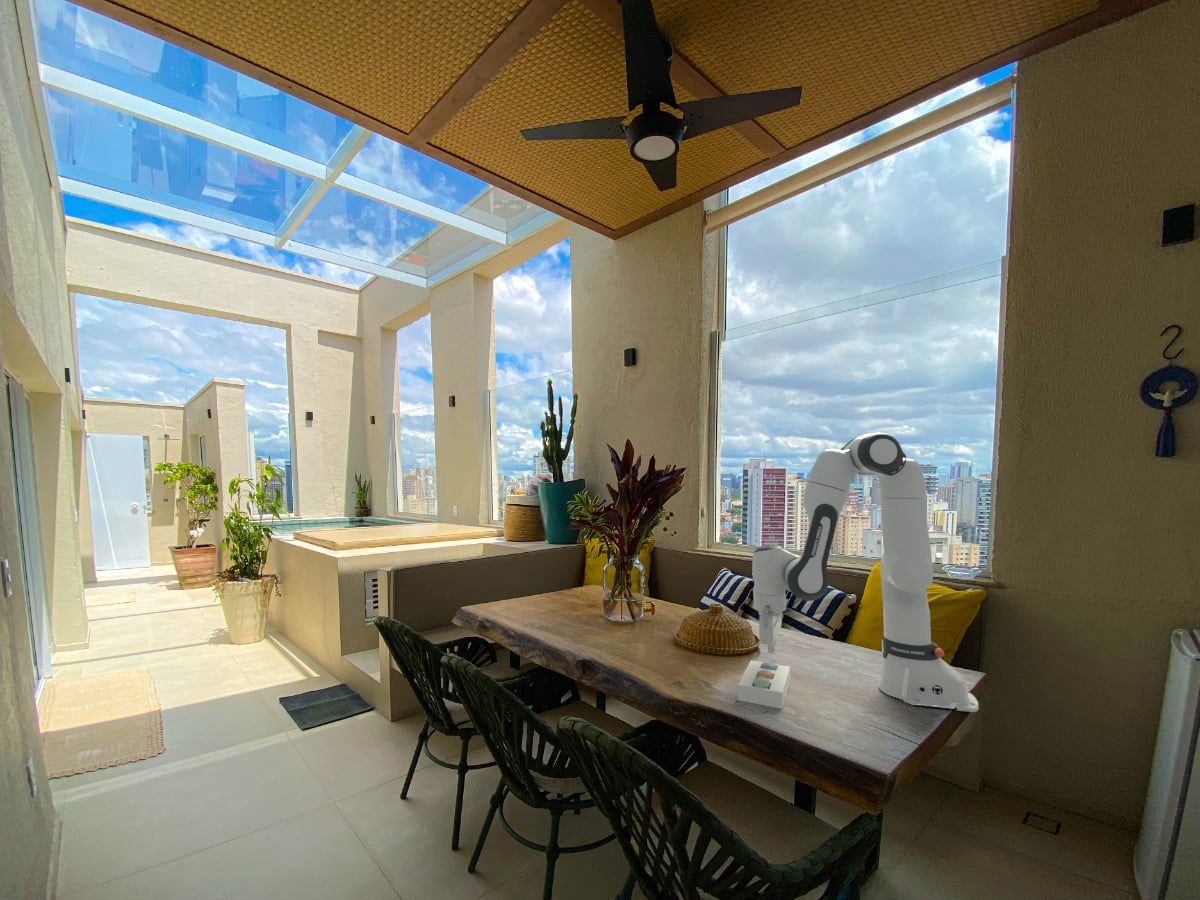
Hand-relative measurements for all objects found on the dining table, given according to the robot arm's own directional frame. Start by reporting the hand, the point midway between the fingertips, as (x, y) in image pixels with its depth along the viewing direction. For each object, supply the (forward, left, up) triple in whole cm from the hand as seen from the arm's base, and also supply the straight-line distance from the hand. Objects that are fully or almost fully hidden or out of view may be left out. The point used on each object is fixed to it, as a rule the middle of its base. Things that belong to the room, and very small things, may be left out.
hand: (771, 651), depth 145 cm
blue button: (+1, 0, -7) cm, 7 cm away
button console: (+1, +7, -8) cm, 11 cm away
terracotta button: (+1, +7, -7) cm, 10 cm away
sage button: (+1, +14, -6) cm, 15 cm away
